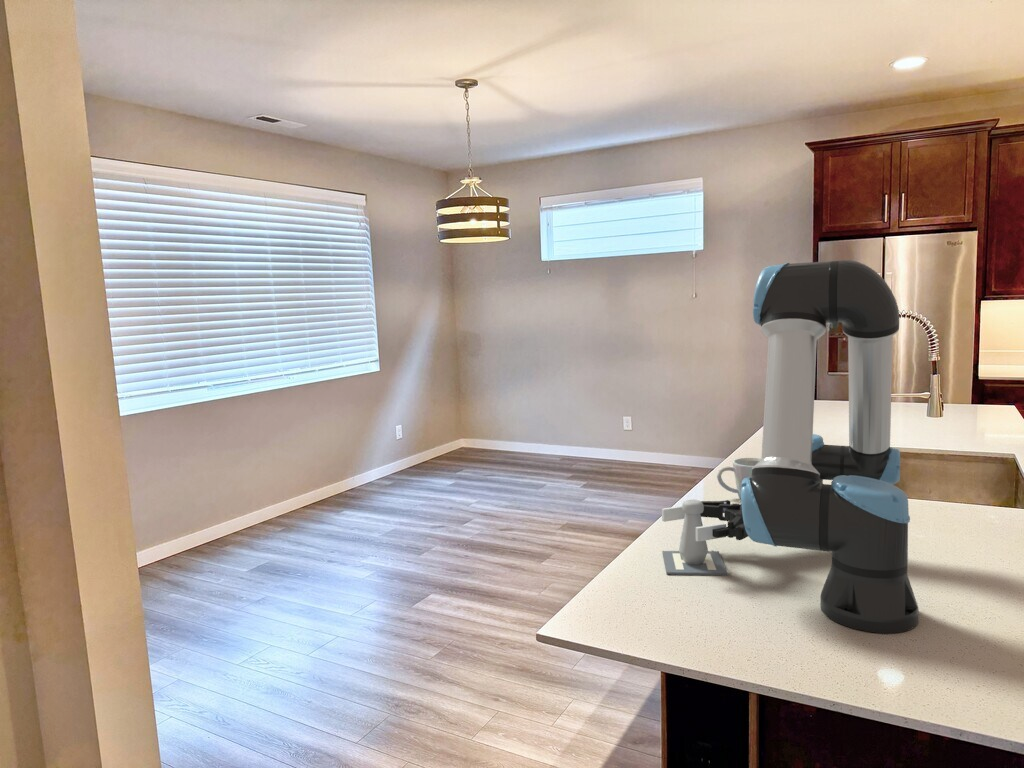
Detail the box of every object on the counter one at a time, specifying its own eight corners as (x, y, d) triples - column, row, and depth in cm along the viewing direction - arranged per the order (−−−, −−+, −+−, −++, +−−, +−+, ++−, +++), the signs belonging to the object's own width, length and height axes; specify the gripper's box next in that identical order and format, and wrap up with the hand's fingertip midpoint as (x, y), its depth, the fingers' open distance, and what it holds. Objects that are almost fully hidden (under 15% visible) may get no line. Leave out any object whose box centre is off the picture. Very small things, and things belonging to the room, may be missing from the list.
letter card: (727, 575, 139) (727, 572, 139) (666, 574, 141) (666, 572, 141) (718, 553, 151) (718, 551, 151) (662, 553, 153) (662, 550, 153)
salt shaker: (687, 567, 143) (686, 506, 141) (674, 558, 148) (673, 498, 147) (713, 564, 144) (712, 503, 142) (699, 554, 149) (698, 495, 148)
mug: (778, 502, 185) (778, 465, 184) (722, 504, 186) (722, 467, 184) (765, 491, 196) (765, 456, 194) (712, 493, 196) (711, 458, 195)
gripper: (806, 546, 139) (713, 562, 133) (732, 511, 162) (650, 524, 156) (806, 509, 138) (712, 524, 132) (732, 480, 161) (649, 491, 155)
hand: (678, 524), depth 144 cm, fingers open, 13 cm apart
